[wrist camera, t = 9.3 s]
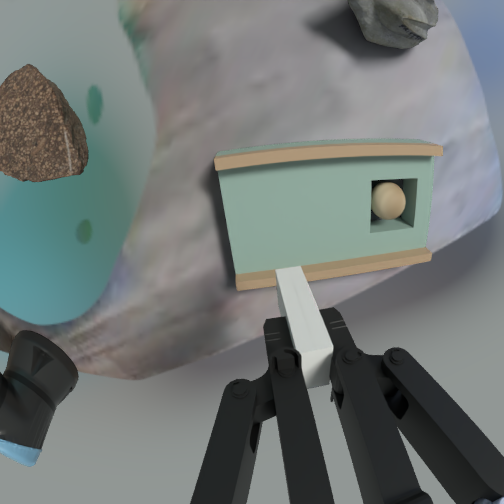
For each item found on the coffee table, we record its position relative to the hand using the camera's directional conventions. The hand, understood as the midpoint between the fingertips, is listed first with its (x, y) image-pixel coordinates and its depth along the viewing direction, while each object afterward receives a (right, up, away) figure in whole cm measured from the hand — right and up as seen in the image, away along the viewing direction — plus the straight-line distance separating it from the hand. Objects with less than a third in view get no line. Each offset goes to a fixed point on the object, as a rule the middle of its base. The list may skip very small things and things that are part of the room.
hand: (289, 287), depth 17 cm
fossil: (+10, +27, +2) cm, 29 cm away
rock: (-22, +16, +6) cm, 28 cm away
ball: (+12, +7, +10) cm, 17 cm away
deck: (+6, +7, +12) cm, 15 cm away
